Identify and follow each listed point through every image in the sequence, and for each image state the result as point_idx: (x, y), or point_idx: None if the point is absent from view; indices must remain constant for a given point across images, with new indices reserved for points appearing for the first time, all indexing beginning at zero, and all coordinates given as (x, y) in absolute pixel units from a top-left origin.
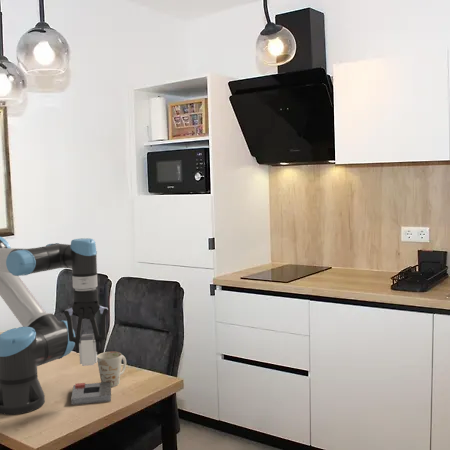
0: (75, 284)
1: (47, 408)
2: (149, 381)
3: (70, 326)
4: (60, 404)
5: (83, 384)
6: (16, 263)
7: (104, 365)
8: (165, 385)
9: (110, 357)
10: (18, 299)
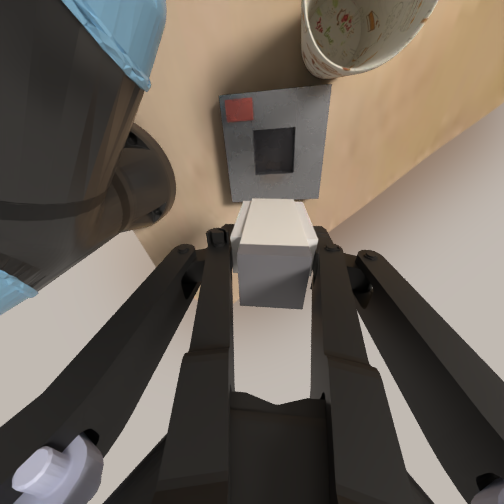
0: None
1: (191, 204)
2: (468, 39)
3: (158, 350)
4: (211, 189)
5: (249, 113)
6: None
7: (327, 71)
8: (493, 101)
9: None
10: None
